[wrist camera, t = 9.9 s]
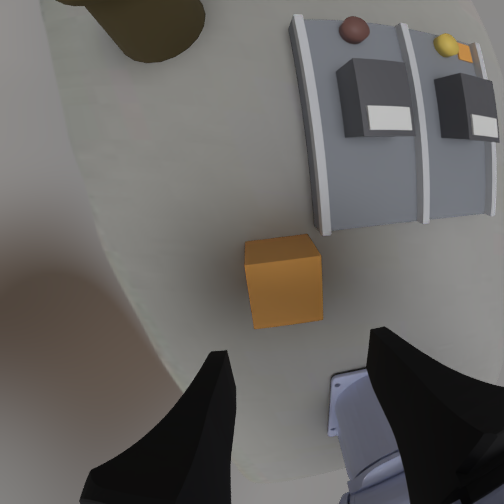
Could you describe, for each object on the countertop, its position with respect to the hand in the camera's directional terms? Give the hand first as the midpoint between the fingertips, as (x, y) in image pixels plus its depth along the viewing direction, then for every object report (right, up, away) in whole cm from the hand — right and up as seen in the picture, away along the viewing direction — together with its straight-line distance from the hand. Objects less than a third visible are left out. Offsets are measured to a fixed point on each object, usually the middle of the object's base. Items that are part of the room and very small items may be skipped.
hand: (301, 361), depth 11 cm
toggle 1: (+5, +13, +4) cm, 14 cm away
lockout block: (0, +3, +9) cm, 10 cm away
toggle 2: (+12, +14, +4) cm, 18 cm away
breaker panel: (+8, +13, +5) cm, 16 cm away
